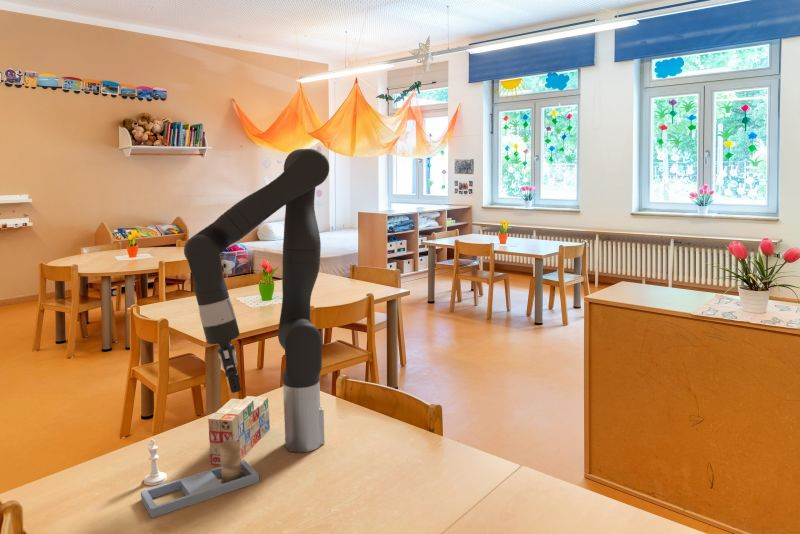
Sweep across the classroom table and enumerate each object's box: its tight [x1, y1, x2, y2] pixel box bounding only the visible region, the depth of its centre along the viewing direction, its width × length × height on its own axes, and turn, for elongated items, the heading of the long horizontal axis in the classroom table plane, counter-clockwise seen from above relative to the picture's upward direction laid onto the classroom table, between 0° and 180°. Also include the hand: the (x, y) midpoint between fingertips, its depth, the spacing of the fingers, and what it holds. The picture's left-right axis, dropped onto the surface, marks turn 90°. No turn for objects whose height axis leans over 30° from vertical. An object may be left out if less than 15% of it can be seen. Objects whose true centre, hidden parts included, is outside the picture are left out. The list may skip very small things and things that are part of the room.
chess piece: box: [143, 438, 168, 486], centre depth 138 cm, size 5×5×10 cm
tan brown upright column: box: [220, 440, 243, 484], centre depth 138 cm, size 4×4×9 cm
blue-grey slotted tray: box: [140, 458, 260, 519], centre depth 134 cm, size 24×8×2 cm, turn 126°
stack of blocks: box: [208, 395, 271, 467], centre depth 155 cm, size 21×6×12 cm, turn 169°
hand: (236, 386), depth 141 cm, fingers open, 8 cm apart
